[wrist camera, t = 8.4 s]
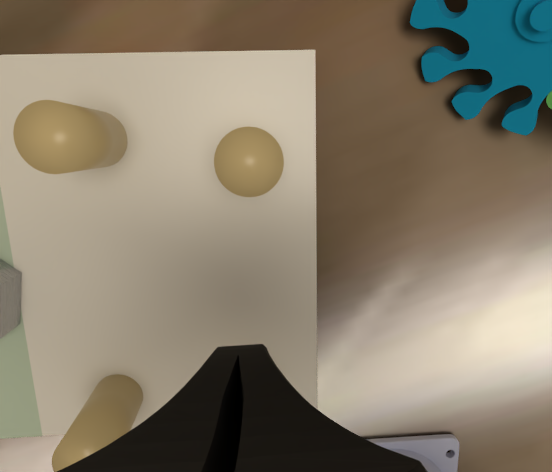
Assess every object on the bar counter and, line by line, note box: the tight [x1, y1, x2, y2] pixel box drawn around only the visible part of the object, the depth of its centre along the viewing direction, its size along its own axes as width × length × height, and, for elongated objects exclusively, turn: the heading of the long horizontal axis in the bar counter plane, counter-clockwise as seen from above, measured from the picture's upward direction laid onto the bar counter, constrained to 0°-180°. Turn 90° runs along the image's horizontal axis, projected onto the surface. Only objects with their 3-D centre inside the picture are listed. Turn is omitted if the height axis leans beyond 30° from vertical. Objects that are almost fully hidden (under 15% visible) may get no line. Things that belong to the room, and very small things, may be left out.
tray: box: [0, 50, 317, 472], centre depth 18 cm, size 18×20×6 cm
